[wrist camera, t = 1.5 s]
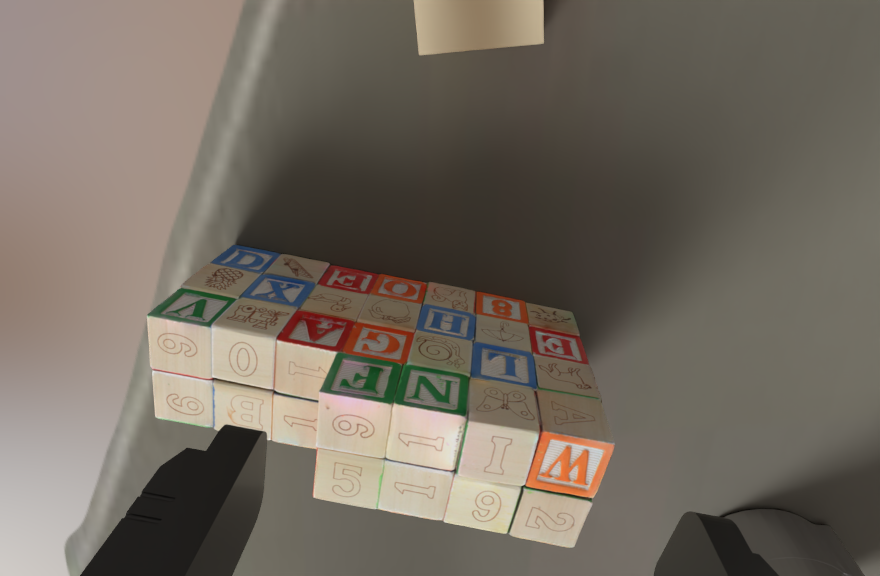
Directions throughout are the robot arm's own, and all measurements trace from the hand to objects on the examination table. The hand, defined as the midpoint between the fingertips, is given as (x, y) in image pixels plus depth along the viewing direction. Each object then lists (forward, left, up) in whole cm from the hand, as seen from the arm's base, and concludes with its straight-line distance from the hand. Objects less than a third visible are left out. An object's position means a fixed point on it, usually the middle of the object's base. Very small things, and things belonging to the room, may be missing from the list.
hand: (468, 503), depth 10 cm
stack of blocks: (+6, +8, -22) cm, 24 cm away
